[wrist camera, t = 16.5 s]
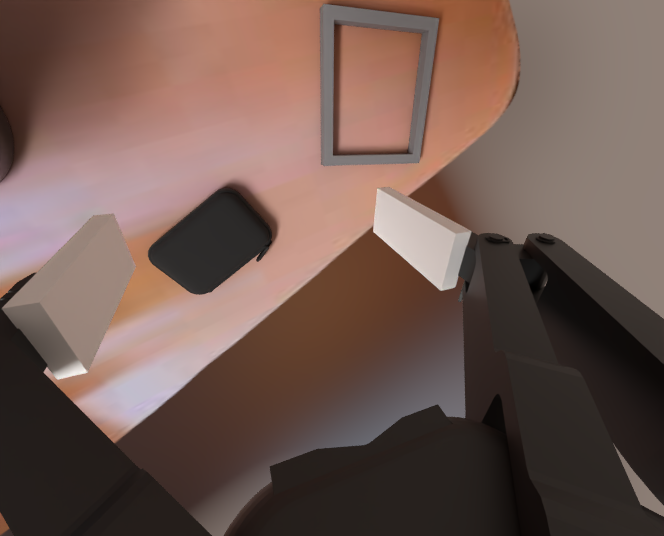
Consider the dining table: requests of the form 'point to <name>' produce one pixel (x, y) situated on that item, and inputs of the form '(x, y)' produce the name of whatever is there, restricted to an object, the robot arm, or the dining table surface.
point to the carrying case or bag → (212, 242)
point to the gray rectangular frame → (327, 21)
